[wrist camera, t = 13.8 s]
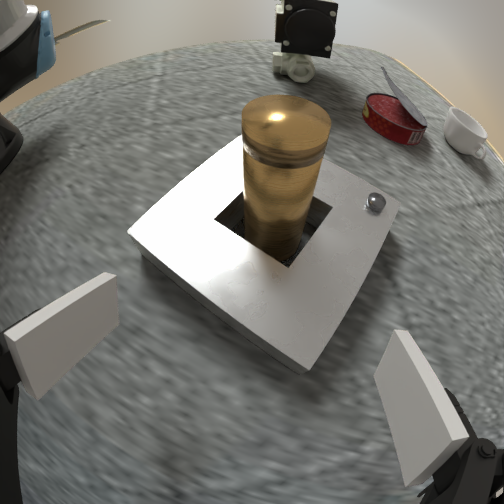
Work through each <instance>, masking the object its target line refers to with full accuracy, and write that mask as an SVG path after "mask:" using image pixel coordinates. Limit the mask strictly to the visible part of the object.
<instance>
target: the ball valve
mask: <svg viewBox="0 0 504 504" xmlns="http://www.w3.org/2000/svg"><path fill="white" fill-rule="evenodd" d="M280 1H282V2H281V4H276V14H275V15H276V16H275V42H278V43H281V53H280V52H274V53H273V68H272V71H273V72H278V73H281V75H289V77H290V78H291V79H293V80H294V81H295V82H303V83H307V82H308V81H309V80H310V79H312V78H313V76H314V74H315V67H314V64H313V61H312V59H311V56H317V57H324V58H330V55H331V49H332V43H333V39H334V37H335V24H336V17H337V10H338V4H337V3H335V2H334V1H332V0H280Z"/></svg>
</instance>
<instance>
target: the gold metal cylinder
mask: <svg viewBox="0 0 504 504" xmlns="http://www.w3.org/2000/svg"><path fill="white" fill-rule="evenodd" d="M330 127H331V119H330V117H329V115H328V113H327V112H326V111H325V110H324V109H323V108H321V107H320V106H319V105H317V104H315V103H313V102H311V101H309V100H306V99H304V98H300V97H296V96H290V95H268V96H263V97H259V98H257V99H254V100H252V101H250V102H249V103H248V104H247V105H246V106H245V107H244V108H243V110H242V148H243V190H244V228H245V240H246V241H247V242H249V243H250V244H252V245H253V246H255V247H257V248H258V249H260V250H261V251H263V252H264V253H266V254H267V255H269V256H270V257H272V258H274V259H275V260H277V261H278V262H282V261H285V260H287V259H289V258H290V257H291V256H293V255H294V253H295V252H296V251H297V249H298V246H299V243H300V239H301V236H302V232H303V229H304V226H305V222H306V219H307V215H308V212H309V208H310V204H311V201H312V197H313V194H314V190H315V186H316V182H317V179H318V175H319V171H320V167H321V163H322V160H323V156H324V153H325V149H326V145H327V141H328V137H329V131H330Z"/></svg>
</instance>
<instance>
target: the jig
mask: <svg viewBox="0 0 504 504" xmlns="http://www.w3.org/2000/svg"><path fill="white" fill-rule="evenodd" d="M400 204H401V203H400V202H399V201H397V200H396V199H394V198H392V197H391V196H389V195H388V194H386V193H384V192H383V191H381V190H380V189H378V188H376V187H375V186H373V185H371V184H369V183H368V182H366V181H364V180H363V179H361V178H359V177H357V176H355V175H354V174H352V173H350V172H348V171H346V170H345V169H343V168H341V167H339V166H337V165H335V164H333V163H331V162H330V161H328V160H326V159H324V158H323V160H322V163H321V167H320V171H319V175H318V179H317V182H316V186H315V190H314V194H313V197H312V201H311V204H310V208H309V212H308V215H307V219H306V222H307V223H309V224H311V225H312V226H314V227H316V228H317V230H316V232H315V233H314V234H313V236H312V237H311V239H310V240H309V241H308V243H307V244H306V245H305V247H304V248H303V249H302V251H301V252H300V253H299V255H298V256H297V257H296V259H295V260H294V261H293V263H292V264H291V265H290V267H289V268H287V267H286V266H284V265H283V264H281V263H280V262H278V261H277V260H275V259H274V258H272V257H270V256H269V255H267V254H266V253H264V252H263V251H261V250H260V249H258V248H257V247H255V246H253V245H252V244H250V243H249V242H247V241H246V240H244V239H243V238H241V237H240V236H238V235H236V234H235V233H233V232H232V231H231V230H232V229H233V228H234V226H235V225H236V224H237V223H238V222H239V221H240V220H241V219H242V218H243V217H244V190H243V148H242V135H240V136H239V137H238V138H236V139H235V140H234V141H232V142H231V143H229V144H228V145H227V146H226V147H224V148H223V149H222V150H220V151H219V152H218V153H216V154H215V155H214V156H212V157H211V158H210V159H209V160H207V161H206V162H205V163H204V164H202V165H201V166H200V167H199V168H197V169H196V170H195V171H194V172H192V173H191V174H190V175H189V176H188V177H186V178H185V179H184V180H183V181H182V182H180V183H179V184H178V185H177V186H176V187H175V188H173V189H172V190H171V191H170V192H169V193H168V194H167V195H165V196H164V197H163V198H162V199H161V200H160V201H159V202H158V203H156V204H155V205H154V206H153V207H152V208H151V209H150V210H149V211H148V212H147V213H145V214H144V215H143V216H142V217H141V218H140V219H139V220H138V221H137V222H136V223H135V224H134V225H133V226H132V227H131V228H130V229H129V230H128V231H127V233H128V234H129V236H130V237H131V239H132V240H133V242H134V244H135V245H136V247H137V248H138V250H139V251H140V253H141V254H142V255H143V256H144V257H145V258H146V259H148V260H149V261H150V262H151V263H152V264H153V265H155V266H156V267H157V268H158V269H159V270H160V271H162V272H163V273H164V274H165V275H166V276H167V277H169V278H170V279H171V280H172V281H173V282H175V283H176V284H177V285H178V286H179V287H181V288H182V289H183V290H184V291H186V292H187V293H188V294H189V295H191V296H192V297H193V298H194V299H196V300H197V301H198V302H199V303H201V304H202V305H203V306H204V307H206V308H207V309H208V310H209V311H211V312H212V313H213V314H215V315H216V316H217V317H219V318H220V319H221V320H222V321H224V322H225V323H226V324H228V325H229V326H230V327H232V328H233V329H234V330H236V331H237V332H239V333H240V334H241V335H243V336H244V337H245V338H247V339H248V340H249V341H251V342H252V343H254V344H255V345H256V346H258V347H259V348H261V349H262V350H263V351H265V352H266V353H268V354H269V355H271V356H272V357H274V358H275V359H276V360H278V361H279V362H281V363H282V364H284V365H285V366H287V367H288V368H290V369H291V370H293V371H294V372H296V373H297V374H299V375H300V374H302V373H304V372H307V371H309V370H310V369H311V367H312V366H313V364H314V363H315V361H316V360H317V358H318V357H319V355H320V354H321V352H322V351H323V349H324V348H325V346H326V345H327V343H328V342H329V340H330V338H331V337H332V335H333V334H334V332H335V330H336V329H337V327H338V326H339V324H340V322H341V321H342V319H343V317H344V315H345V314H346V312H347V310H348V309H349V307H350V305H351V303H352V302H353V300H354V298H355V296H356V295H357V293H358V291H359V289H360V287H361V285H362V284H363V282H364V280H365V278H366V276H367V274H368V272H369V270H370V268H371V267H372V265H373V263H374V261H375V259H376V257H377V255H378V253H379V251H380V249H381V246H382V244H383V242H384V240H385V238H386V236H387V234H388V232H389V229H390V227H391V225H392V223H393V221H394V218H395V216H396V214H397V211H398V209H399V207H400Z"/></svg>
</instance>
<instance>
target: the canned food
mask: <svg viewBox="0 0 504 504" xmlns="http://www.w3.org/2000/svg"><path fill="white" fill-rule="evenodd" d="M381 68H382V70H383V73H384V75H385V78H386V80H387V82H388V84H389V86H390V87H391V89H392V91H393V92H394V94H395V95H396V97H394V96H391V95H388V94H383V93H371V94H369V95H368V96H367V97H366V102H365V105H364V109H363V112H362V116H363V119H364V121H365V122H366V123H367V124H368V126H370V127H371V128H372V129H373V130H374V131H376V132H377V133H379V134H380V135H382V136H383V137H385V138H387V139H389V140H392V141H394V142H397V143H400V144H404V145H416V144H418V143H419V142H420V140H421V138H422V136H423V134H424V132H425V130H426V128H427V121H426V119H425V118H424V116H423V115H422V114H421V113H420V111H419V110H418V109H417V107H416V106H415V105H414V104H413V103H412V102H411V101H410V100H409V99H408V97H407V96H406V95H404V94H403V93H402V92H401V90H400V89H399V88H398V87H397V86H396V85H395V84H394V83H393V82H392V80H391V79H390V78H389V76H388V75H387V73H386V71H385V69H384V67H381Z"/></svg>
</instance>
